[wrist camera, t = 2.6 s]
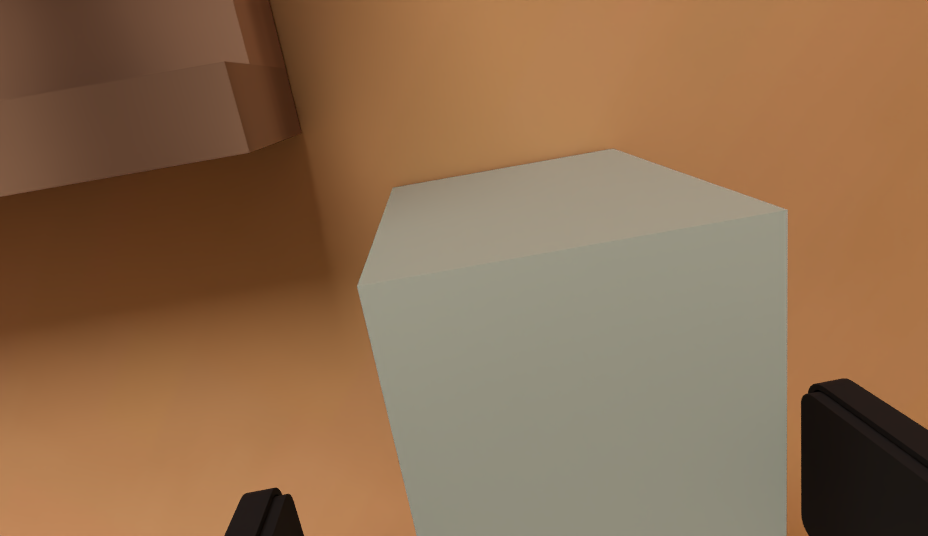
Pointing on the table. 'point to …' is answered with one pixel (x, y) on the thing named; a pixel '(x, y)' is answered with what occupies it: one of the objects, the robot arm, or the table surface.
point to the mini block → (583, 351)
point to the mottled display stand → (135, 87)
